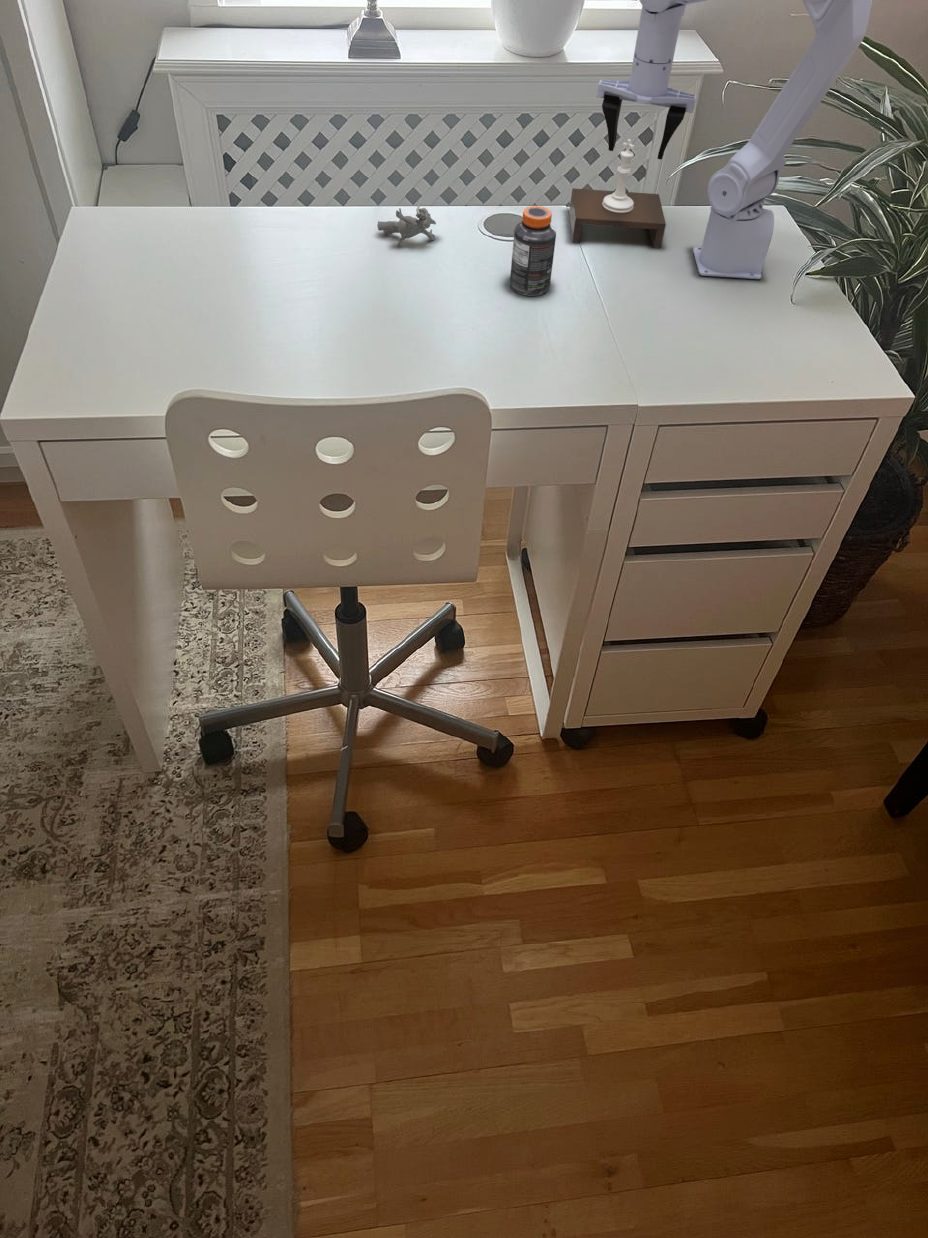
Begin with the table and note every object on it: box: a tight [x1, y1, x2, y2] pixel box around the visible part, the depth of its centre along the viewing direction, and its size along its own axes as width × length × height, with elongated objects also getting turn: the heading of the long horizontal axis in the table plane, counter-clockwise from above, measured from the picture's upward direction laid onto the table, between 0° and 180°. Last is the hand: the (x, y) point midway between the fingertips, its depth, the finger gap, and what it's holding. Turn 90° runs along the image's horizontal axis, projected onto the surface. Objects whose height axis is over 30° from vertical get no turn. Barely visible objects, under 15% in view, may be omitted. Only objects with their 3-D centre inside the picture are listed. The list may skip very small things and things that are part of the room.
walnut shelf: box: [568, 188, 667, 249], centre depth 153 cm, size 14×10×4 cm
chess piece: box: [602, 138, 635, 213], centre depth 148 cm, size 5×5×10 cm
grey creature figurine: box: [377, 203, 437, 247], centre depth 146 cm, size 10×6×9 cm
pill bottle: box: [509, 205, 557, 297], centre depth 137 cm, size 6×6×11 cm
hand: (635, 152), depth 150 cm, fingers open, 7 cm apart
